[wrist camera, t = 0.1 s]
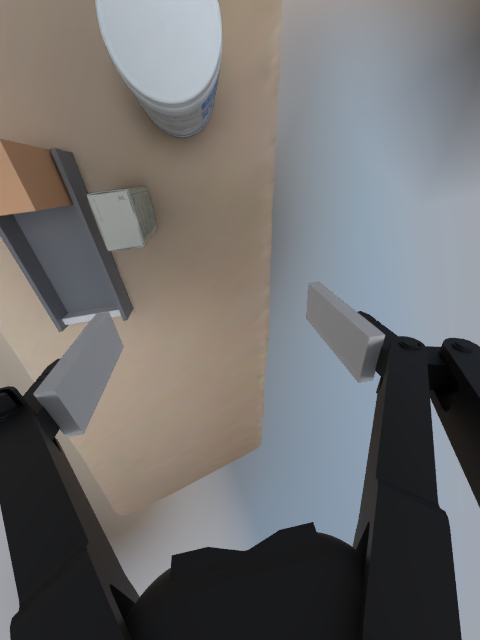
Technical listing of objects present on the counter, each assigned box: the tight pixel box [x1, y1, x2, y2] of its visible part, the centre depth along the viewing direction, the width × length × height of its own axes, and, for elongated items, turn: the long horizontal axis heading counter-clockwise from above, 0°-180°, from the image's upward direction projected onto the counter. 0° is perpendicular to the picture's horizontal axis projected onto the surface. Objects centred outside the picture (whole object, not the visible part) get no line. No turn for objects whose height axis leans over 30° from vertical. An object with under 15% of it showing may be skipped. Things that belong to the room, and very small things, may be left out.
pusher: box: [0, 139, 74, 216], centre depth 27 cm, size 6×9×11 cm, turn 96°
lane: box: [0, 149, 133, 332], centre depth 36 cm, size 24×11×4 cm, turn 6°
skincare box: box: [87, 186, 157, 251], centre depth 31 cm, size 6×4×12 cm
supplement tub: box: [95, 0, 222, 137], centre depth 24 cm, size 10×10×15 cm
